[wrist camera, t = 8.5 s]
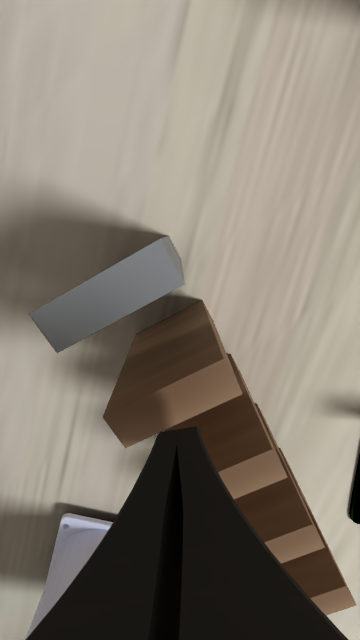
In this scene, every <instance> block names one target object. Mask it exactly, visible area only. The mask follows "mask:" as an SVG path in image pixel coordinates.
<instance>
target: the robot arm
mask: <svg viewBox="0 0 360 640" xmlns="http://www.w3.org/2000/svg"><path fill="white" fill-rule="evenodd" d="M25 640H348V639H347V638H346V637H345V636H344V635H343V634H342V633H341V632H340V631H339V629H338V628H337V627H336V626H335V625H334V624H333V623H332V622H331V621H330V620H329V618H328V617H327V616H326V615H325V614H324V613H323V612H322V611H321V610H320V608H319V607H318V606H317V605H316V604H315V603H314V602H313V601H312V600H311V599H310V597H309V596H308V595H307V594H306V593H305V591H304V590H303V589H302V588H301V587H300V586H299V584H298V583H297V582H296V581H295V580H294V578H293V577H292V576H291V575H290V574H289V572H288V571H287V570H286V569H285V568H284V567H283V565H282V564H281V563H280V562H279V561H278V559H277V558H276V557H275V556H274V554H273V553H272V552H271V551H270V549H269V548H268V547H267V545H266V544H265V543H264V541H263V540H262V539H261V538H260V536H259V535H258V534H257V532H256V531H255V529H254V528H253V527H252V525H251V524H250V522H249V521H248V520H247V518H246V517H245V515H244V514H243V512H242V511H241V509H240V508H239V506H238V505H237V503H236V502H235V500H234V499H233V497H232V496H231V494H230V492H229V491H228V489H227V487H226V486H225V484H224V482H223V481H222V479H221V477H220V475H219V473H218V472H217V470H216V468H215V466H214V464H213V462H212V460H211V458H210V456H209V454H208V451H207V449H206V447H205V444H204V442H203V439H202V435H201V430H200V428H198V427H197V426H195V427H189V428H183V429H176V430H170V431H164V432H160V433H159V434H158V436H157V438H156V441H155V443H154V446H153V448H152V450H151V453H150V455H149V457H148V459H147V461H146V463H145V466H144V468H143V470H142V472H141V473H140V475H139V477H138V479H137V481H136V483H135V485H134V487H133V489H132V491H131V493H130V494H129V496H128V498H127V500H126V501H125V503H124V505H123V507H122V508H121V510H120V512H119V514H118V515H117V517H116V519H115V520H114V522H109V521H104V520H100V519H95V518H90V517H85V516H81V515H76V514H71V513H66V514H64V515H63V516H62V518H61V522H60V526H59V530H58V534H57V538H56V543H55V547H54V551H53V555H52V560H51V564H50V568H49V572H48V576H47V581H46V585H45V588H44V591H43V594H42V596H41V599H40V602H39V604H38V607H37V610H36V612H35V615H34V618H33V620H32V623H31V626H30V628H29V631H28V634H27V636H26V639H25Z"/></svg>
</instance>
